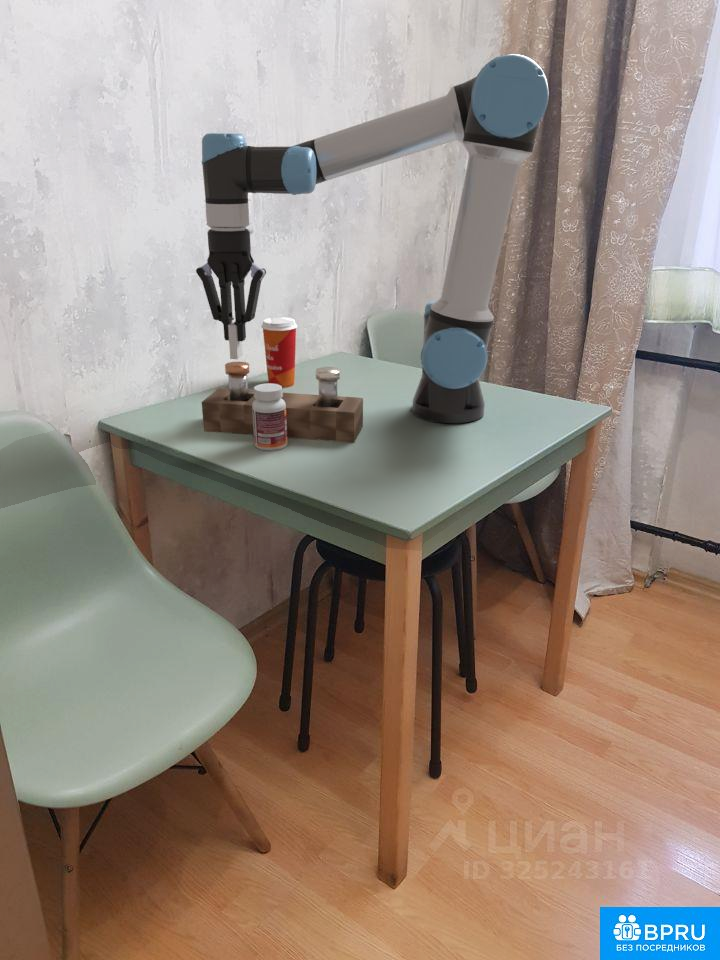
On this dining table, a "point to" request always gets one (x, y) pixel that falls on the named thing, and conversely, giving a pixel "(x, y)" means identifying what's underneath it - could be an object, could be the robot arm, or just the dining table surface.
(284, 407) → the pill bottle
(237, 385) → the knob
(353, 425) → the brown wooden long block
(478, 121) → the robot arm
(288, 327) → the coffee cup
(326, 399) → the knob
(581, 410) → the dining table surface
